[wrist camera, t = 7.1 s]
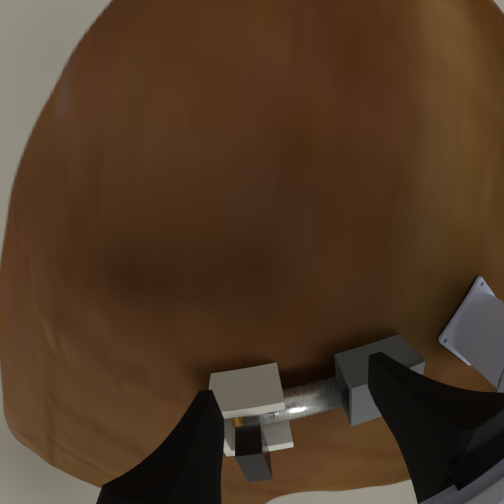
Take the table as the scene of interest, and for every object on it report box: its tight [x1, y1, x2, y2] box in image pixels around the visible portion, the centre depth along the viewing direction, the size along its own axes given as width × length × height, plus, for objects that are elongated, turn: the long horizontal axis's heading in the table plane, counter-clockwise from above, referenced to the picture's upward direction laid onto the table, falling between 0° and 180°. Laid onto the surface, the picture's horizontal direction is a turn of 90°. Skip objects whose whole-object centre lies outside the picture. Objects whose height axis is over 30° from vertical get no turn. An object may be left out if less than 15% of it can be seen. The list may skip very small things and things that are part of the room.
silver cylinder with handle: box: [231, 377, 342, 482], centre depth 18 cm, size 9×4×8 cm, turn 102°
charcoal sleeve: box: [334, 334, 425, 426], centre depth 20 cm, size 6×5×5 cm
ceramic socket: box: [209, 362, 294, 456], centre depth 20 cm, size 6×6×5 cm
